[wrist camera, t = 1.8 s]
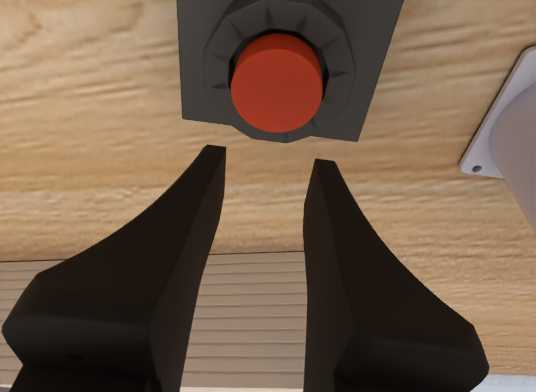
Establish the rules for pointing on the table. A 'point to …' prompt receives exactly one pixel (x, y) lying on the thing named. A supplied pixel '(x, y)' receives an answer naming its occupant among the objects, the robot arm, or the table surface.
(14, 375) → the long wooden block
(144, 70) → the table surface
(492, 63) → the table surface
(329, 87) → the button block
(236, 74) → the button
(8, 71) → the table surface
